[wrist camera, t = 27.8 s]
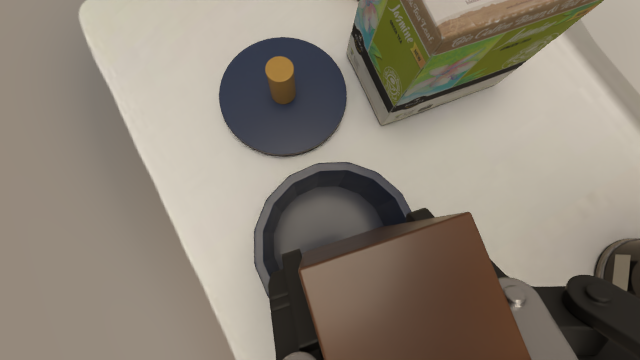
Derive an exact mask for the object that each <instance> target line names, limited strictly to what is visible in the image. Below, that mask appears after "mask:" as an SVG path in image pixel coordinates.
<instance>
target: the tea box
mask: <svg viewBox="0 0 640 360" xmlns="http://www.w3.org/2000/svg"><path fill="white" fill-rule="evenodd" d="M602 1H603V0H359V4H358V8H357V12H356V16H355V20H354V25H353V29H352V33H351V36H350V40H349V44H348V48H347V55H348V57H349V59H350V61H351V63H352V65H353V67H354V69H355V71H356V73H357V75H358V78H359V80H360V82H361V84H362V87H363V89H364V91H365V93H366V95H367V97H368V99H369V101H370V104H371V106H372V108H373V110H374V112H375V114H376V117H377V119H378V121H379V123H380V125H385V124H387V123H390V122H394V121H397V120H400V119H403V118H405V117H408V116H410V115H413V114H416V113H419V112H422V111H425V110H428V109H430V108H433V107H435V106H438V105H441V104H444V103H446V102H450V101H452V100H455V99H458V98H460V97H463V96H465V95H468V94H471V93H474V92H477V91H479V90H482V89H484V88H487V87H490V86H493V85H495V84H497V83H499V82H500V81H501V80H503V79H504V78H505V77H507V76H508V75H509V74H510V73H512V72H513V71H514V70H515V69H517V68H518V67H519V66H521V65H522V64H523V63H525V62H526V61H527V60H528V59H530V58H531V57H532V56H533V55H535V54H536V53H537V52H538V51H540V50H541V49H542V48H543V47H545V46H546V45H547V44H549V43H550V42H551V41H552V40H554V39H555V38H557V37H558V36H559V35H561V34H562V33H563V32H564V31H566V30H567V29H568V28H569V27H570V26H572V25H573V24H574V23H575V22H577V21H578V20H579V19H580V18H582V17H583V16H584V15H586V14H587V13H588V12H589V11H591V10H592V9H593V8H595V7H596V6H597V5H599V4H600V3H601V2H602Z"/></svg>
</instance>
